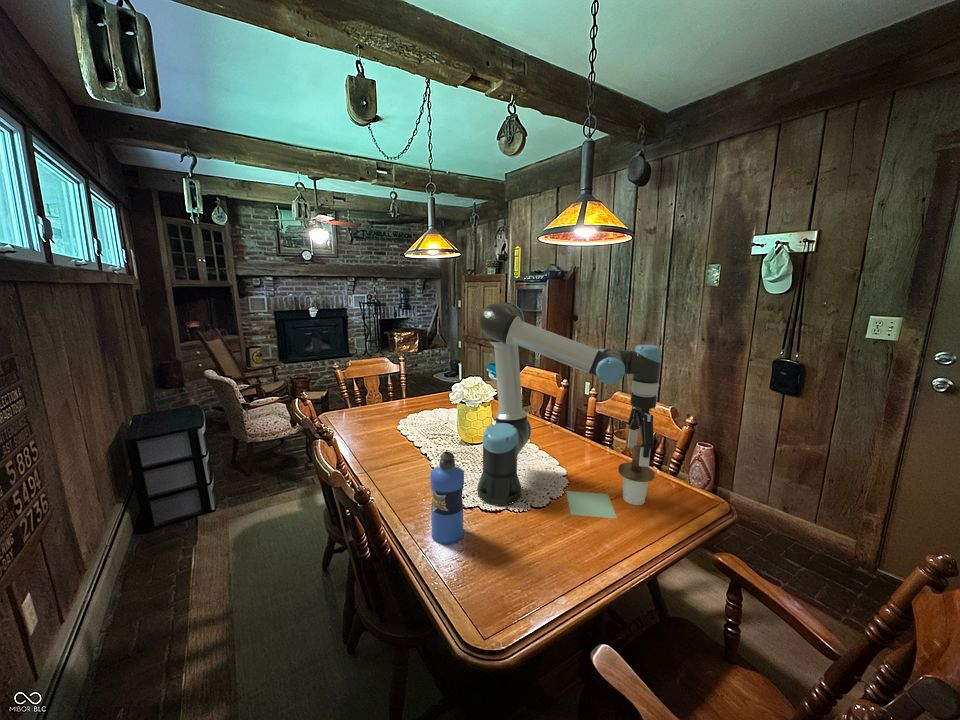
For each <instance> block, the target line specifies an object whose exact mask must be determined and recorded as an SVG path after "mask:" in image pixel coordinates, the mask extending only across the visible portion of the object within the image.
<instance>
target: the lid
mask: <svg viewBox="0 0 960 720" xmlns="http://www.w3.org/2000/svg"><path fill="white" fill-rule="evenodd" d="M640 450H641V447H640V445H639V444H638V445H635V446H633V448H632V458H631V462H623V463H621V464H619V465H618V470H617V471H618V474H619V475H620V476H622V478H623V477H625V478H627V479H630V480H633V481H638V482H648V483H649V482H651V481H653V480H654V479H655V477H656V476H655V473H656V472H655V471H654V469H652V468H650V466H649V467H643V466H639V460H640Z"/></svg>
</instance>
